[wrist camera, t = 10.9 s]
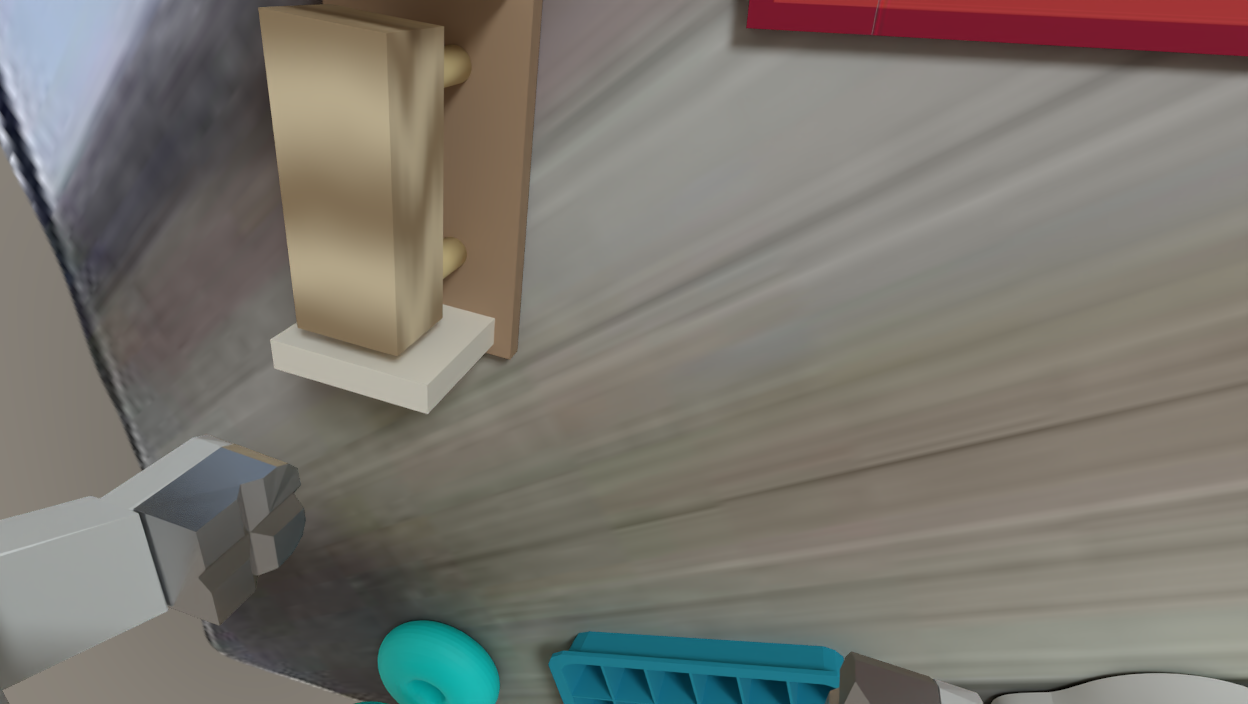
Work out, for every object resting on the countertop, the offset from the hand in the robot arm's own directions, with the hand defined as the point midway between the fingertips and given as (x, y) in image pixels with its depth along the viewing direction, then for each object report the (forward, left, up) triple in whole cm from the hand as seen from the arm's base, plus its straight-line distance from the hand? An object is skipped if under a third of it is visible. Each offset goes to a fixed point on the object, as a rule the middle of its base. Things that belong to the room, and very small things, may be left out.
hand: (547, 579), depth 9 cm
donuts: (-42, +14, -24) cm, 51 cm away
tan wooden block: (-2, +15, -20) cm, 25 cm away
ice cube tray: (-35, -6, -25) cm, 43 cm away
